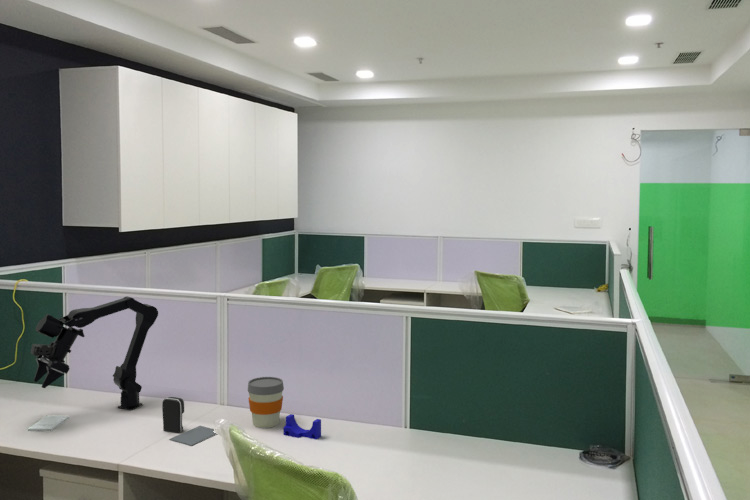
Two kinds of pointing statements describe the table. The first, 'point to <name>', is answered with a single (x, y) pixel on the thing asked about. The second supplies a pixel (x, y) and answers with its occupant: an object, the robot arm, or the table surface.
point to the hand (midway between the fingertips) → (38, 384)
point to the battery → (172, 414)
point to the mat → (194, 435)
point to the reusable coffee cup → (265, 400)
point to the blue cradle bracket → (297, 431)
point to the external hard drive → (48, 423)
